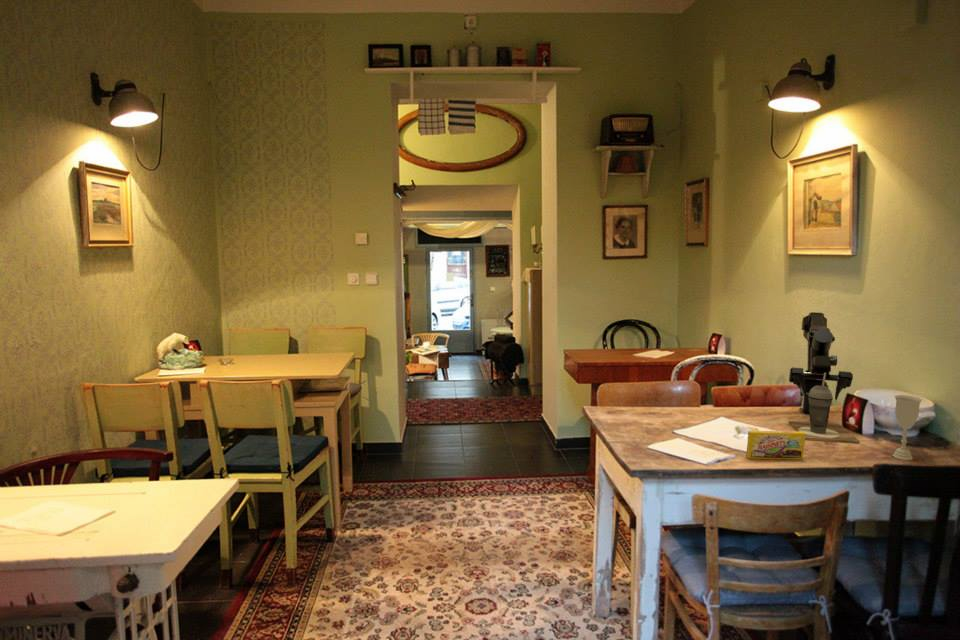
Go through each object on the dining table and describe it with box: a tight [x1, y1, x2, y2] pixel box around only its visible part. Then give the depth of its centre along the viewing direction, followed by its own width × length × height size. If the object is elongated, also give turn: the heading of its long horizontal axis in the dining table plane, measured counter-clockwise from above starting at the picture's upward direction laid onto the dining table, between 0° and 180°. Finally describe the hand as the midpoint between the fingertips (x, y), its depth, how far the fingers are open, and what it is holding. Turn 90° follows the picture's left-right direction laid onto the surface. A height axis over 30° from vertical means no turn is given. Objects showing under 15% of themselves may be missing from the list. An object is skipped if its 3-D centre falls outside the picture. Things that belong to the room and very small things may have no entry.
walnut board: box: [788, 420, 860, 444], centre depth 218 cm, size 20×16×1 cm
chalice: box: [892, 394, 923, 461], centre depth 193 cm, size 7×7×18 cm
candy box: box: [745, 430, 806, 460], centre depth 191 cm, size 16×2×8 cm, turn 90°
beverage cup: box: [808, 373, 834, 434], centre depth 214 cm, size 7×7×20 cm
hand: (820, 398), depth 216 cm, fingers open, 9 cm apart
